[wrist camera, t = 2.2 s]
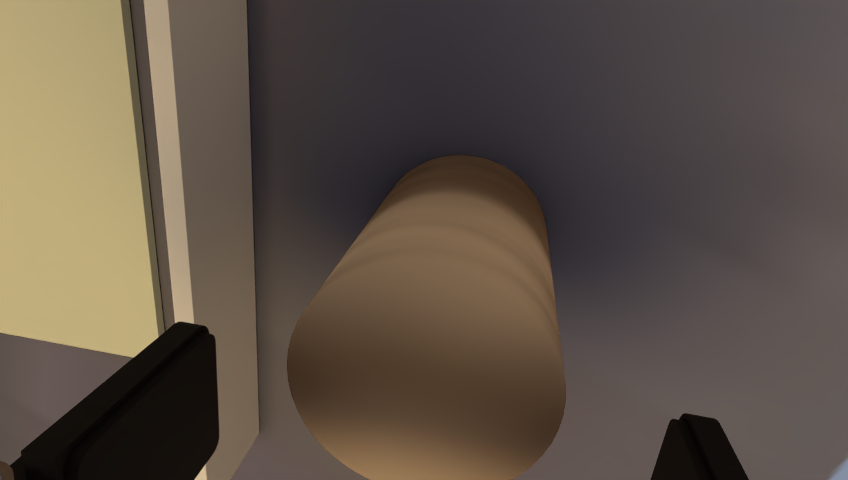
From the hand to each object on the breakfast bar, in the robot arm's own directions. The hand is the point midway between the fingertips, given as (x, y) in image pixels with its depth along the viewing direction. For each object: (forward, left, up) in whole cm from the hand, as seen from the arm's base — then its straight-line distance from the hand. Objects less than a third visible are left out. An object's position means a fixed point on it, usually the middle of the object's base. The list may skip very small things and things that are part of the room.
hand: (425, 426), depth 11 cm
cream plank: (-1, -8, -8) cm, 11 cm away
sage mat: (-1, -18, -8) cm, 20 cm away
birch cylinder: (-1, 0, -8) cm, 8 cm away
